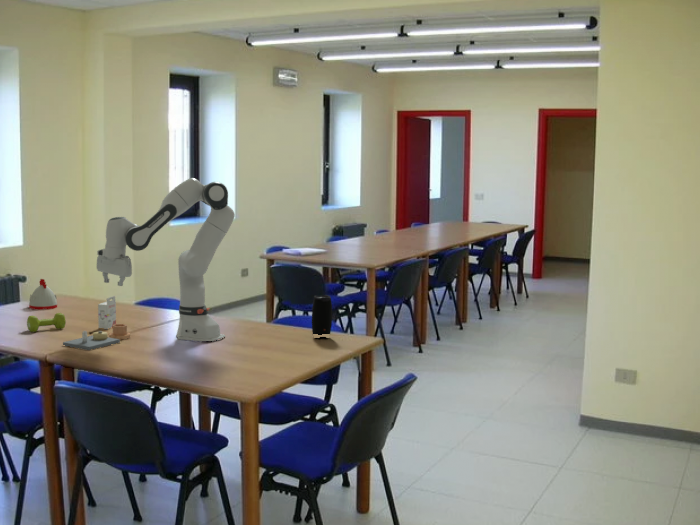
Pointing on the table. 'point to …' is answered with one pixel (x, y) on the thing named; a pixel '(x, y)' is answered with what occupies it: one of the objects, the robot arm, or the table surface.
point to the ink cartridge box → (107, 313)
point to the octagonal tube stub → (119, 332)
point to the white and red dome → (43, 297)
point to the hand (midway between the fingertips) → (113, 284)
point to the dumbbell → (46, 322)
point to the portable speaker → (322, 315)
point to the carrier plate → (92, 341)
